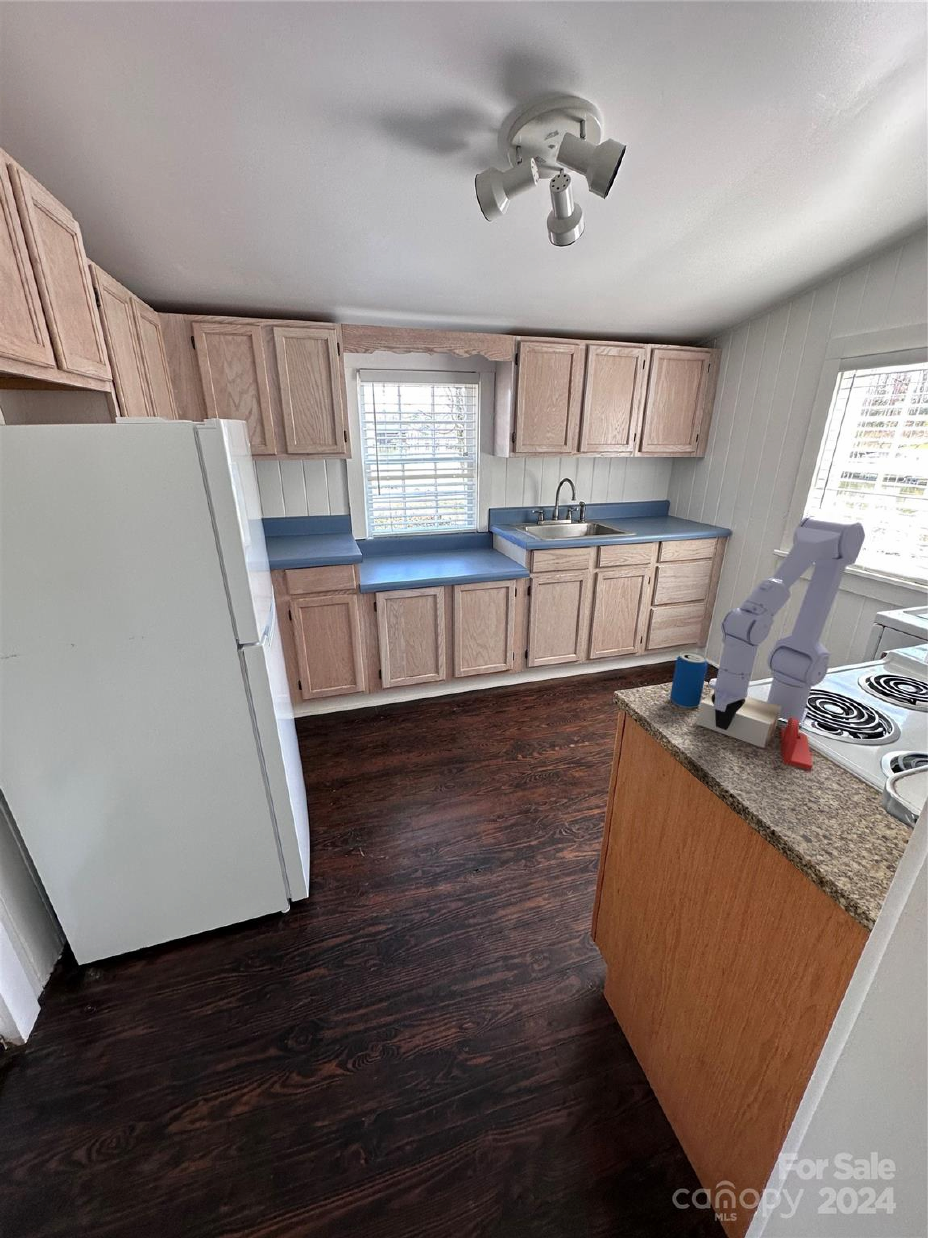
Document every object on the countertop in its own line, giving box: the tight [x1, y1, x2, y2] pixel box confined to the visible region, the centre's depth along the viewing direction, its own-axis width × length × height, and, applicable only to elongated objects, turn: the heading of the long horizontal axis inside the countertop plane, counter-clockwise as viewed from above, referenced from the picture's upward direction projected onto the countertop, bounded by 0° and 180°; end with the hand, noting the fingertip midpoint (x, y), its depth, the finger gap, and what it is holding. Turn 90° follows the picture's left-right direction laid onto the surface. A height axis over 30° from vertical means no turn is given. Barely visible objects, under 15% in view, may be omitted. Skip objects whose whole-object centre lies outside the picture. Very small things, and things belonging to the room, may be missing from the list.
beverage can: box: [669, 651, 708, 709], centre depth 113 cm, size 6×6×12 cm
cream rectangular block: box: [703, 688, 782, 748], centre depth 105 cm, size 9×13×6 cm
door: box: [696, 699, 771, 749], centre depth 102 cm, size 1×13×6 cm, turn 48°
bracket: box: [779, 718, 813, 771], centre depth 97 cm, size 12×4×8 cm, turn 151°
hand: (721, 727), depth 102 cm, fingers closed
